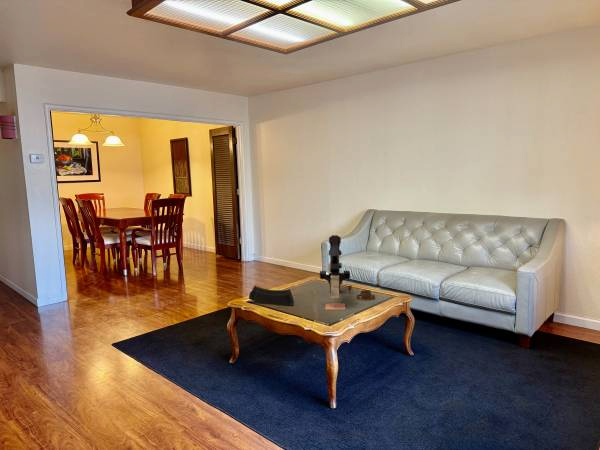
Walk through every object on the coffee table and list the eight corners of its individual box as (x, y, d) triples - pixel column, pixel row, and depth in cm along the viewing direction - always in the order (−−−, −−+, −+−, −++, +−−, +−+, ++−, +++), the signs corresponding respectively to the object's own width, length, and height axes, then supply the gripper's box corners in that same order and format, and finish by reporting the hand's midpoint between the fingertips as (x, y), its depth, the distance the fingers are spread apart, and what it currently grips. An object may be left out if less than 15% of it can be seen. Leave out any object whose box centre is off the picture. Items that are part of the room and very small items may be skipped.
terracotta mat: (325, 304, 261) (325, 303, 261) (344, 304, 260) (344, 303, 260) (325, 309, 249) (325, 309, 249) (345, 310, 248) (345, 309, 248)
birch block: (331, 295, 257) (330, 275, 255) (339, 295, 256) (339, 275, 255) (330, 297, 252) (330, 277, 250) (339, 297, 251) (338, 277, 250)
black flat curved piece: (297, 291, 259) (256, 275, 268) (296, 292, 256) (253, 276, 265) (291, 315, 263) (249, 299, 271) (289, 317, 260) (247, 300, 268)
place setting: (355, 302, 265) (355, 293, 265) (346, 294, 285) (346, 285, 284) (381, 300, 269) (381, 291, 268) (370, 292, 288) (370, 284, 288)
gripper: (319, 258, 256) (319, 279, 247) (349, 258, 255) (350, 279, 245) (320, 267, 265) (319, 289, 255) (349, 267, 263) (350, 289, 254)
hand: (334, 286), depth 252 cm, fingers closed on birch block, 5 cm apart
